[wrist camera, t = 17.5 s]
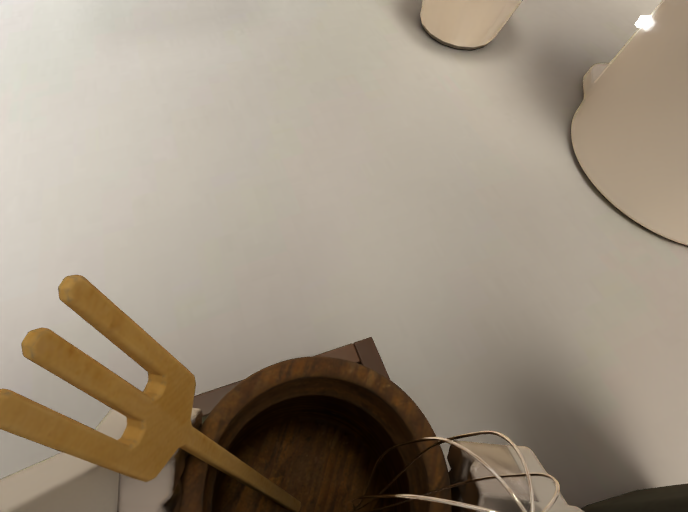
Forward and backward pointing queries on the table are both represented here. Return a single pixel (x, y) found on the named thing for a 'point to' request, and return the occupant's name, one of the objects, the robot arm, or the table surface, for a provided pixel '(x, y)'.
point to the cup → (466, 20)
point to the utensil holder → (248, 427)
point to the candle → (646, 501)
